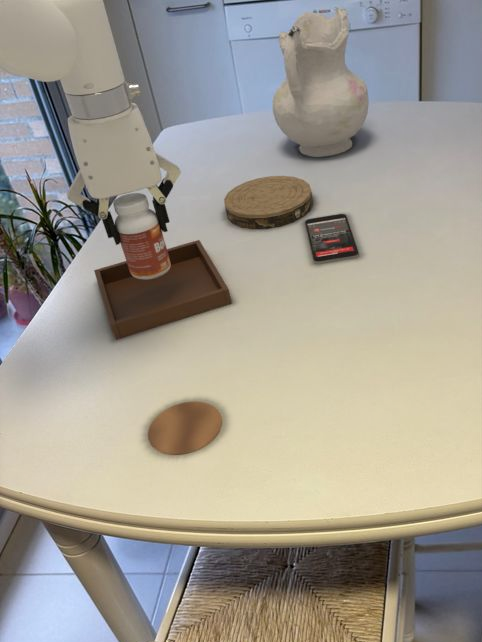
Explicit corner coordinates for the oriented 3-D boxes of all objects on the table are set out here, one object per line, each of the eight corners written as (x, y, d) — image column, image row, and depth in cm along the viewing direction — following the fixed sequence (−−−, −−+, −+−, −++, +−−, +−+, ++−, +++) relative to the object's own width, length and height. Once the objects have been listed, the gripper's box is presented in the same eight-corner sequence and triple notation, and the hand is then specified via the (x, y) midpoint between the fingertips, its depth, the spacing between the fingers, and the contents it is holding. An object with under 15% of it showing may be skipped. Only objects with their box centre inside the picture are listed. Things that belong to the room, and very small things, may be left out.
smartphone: (313, 262, 102) (304, 219, 112) (314, 266, 102) (304, 223, 113) (359, 254, 102) (345, 212, 112) (360, 258, 102) (346, 216, 113)
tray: (116, 342, 93) (110, 325, 91) (100, 285, 105) (93, 270, 103) (232, 305, 97) (228, 288, 95) (203, 255, 109) (199, 239, 107)
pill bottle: (171, 277, 95) (150, 205, 88) (129, 284, 95) (105, 212, 88) (172, 257, 100) (153, 187, 92) (132, 263, 100) (110, 193, 92)
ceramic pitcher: (361, 175, 128) (363, 31, 110) (264, 172, 130) (251, 31, 113) (371, 134, 143) (374, 1, 125) (285, 132, 145) (276, 2, 128)
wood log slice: (299, 184, 125) (297, 168, 123) (324, 217, 114) (322, 201, 112) (219, 203, 123) (216, 188, 121) (237, 239, 112) (233, 223, 110)
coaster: (157, 467, 74) (155, 463, 74) (142, 419, 80) (141, 416, 80) (231, 440, 76) (230, 437, 75) (212, 396, 82) (210, 392, 82)
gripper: (160, 80, 86) (191, 210, 98) (28, 109, 82) (77, 239, 94) (172, 94, 81) (204, 229, 93) (31, 125, 77) (83, 261, 89)
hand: (140, 233), depth 93 cm, fingers closed on pill bottle, 6 cm apart
